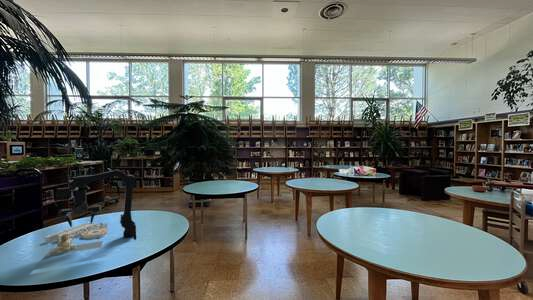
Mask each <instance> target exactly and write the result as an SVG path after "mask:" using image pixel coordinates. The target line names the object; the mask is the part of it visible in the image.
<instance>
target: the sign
mask: <svg viewBox="0 0 533 300" xmlns="http://www.w3.org/2000/svg"><path fill="white" fill-rule="evenodd" d="M63 234H68V239H69V238H72V241H73V240H74V239H76V238H79V237H81V238H82V239H84V240H88V239H89V240H91V239H92V240H93V239H97V238H98V239H101V238H104V237H105V236H107V234H108V222H102V221H101V222H99V223H92V224H91V221H88V222H87V221H86V222H84V223H80V224H78V225H75V226H72V227H70V228H67V229H64V230H61V231H58V232H55V233H52V234H49V235H46V236H45V237H44V243H45V244H50V243H52V242H55V241H58V242H59V241H60V240H61V236H62V235H63Z"/></svg>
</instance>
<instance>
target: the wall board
mask: <svg viewBox="0 0 533 300" xmlns="http://www.w3.org/2000/svg"><path fill="white" fill-rule="evenodd" d="M103 243H104V240H100V241H93V242H88V243H81V244H72V245H70V251H67V252H60V253H57V246H55V247H52V248H51V249H49V251H48V252H47V253H45V255H44V257H50V256H55V255H62V254H68V253H75V252H79V251H80V252H81V251H86V250H92V249H98V248H101V247H102V245H103Z"/></svg>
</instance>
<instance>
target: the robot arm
mask: <svg viewBox="0 0 533 300" xmlns="http://www.w3.org/2000/svg"><path fill="white" fill-rule="evenodd" d="M115 177H116V178H118V179H120V180H121V181H123V182H124V184H125V196H124V209H123V213H122V214H120V219H119V224H121V227H122V228H123V229H124V231H123V233H122V234H123V236H122V237H123V239H126V238H128V239H129V238H133V240H136V239H137V225H136V222H134V221H133V218H132V204H133V203H132V201H133V191H134V190H133V189H134V187H135V184H136V178H135V176H134V175H133V174H127V173H126V172H123V171H121V170H120V169H114V170H110V171H105V172H101V173H95V174H93V175H78V176H75V178H73V179H72V181H71V185H70V186H69V187H58V188H56V193H55V201H56V202H61V201H70V200H71V198H73V206H72V208H62V209H60V211H58V217H59V218H60V217H61V218H63V219H66V221H67V223H68V224H69V227H70V228H72V227H73V221H72V215H73V216H74V215H75V216H76V215H83V214H84V213H85V212H91V213H90V224H93V222H94V218H95V215H96V214H98V213H99V212H100V211H101V210H102V205H101V204H96V205H92V206H91V207H89V204H88V202H87V191H89V190H90V189H91V188H90V187H89V186H88V185H90V184H92V183H93V182H98V181H103V180H105V179H106V180H107V179H111V178H115Z"/></svg>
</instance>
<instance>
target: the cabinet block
mask: <svg viewBox="0 0 533 300" xmlns="http://www.w3.org/2000/svg"><path fill="white" fill-rule="evenodd" d="M70 245H73V240H72V238H69V239H68V234H63V235H62V236H61V240H60V241H58V242H57V243H56V247H57V253H60V252H67V251H70Z"/></svg>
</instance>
